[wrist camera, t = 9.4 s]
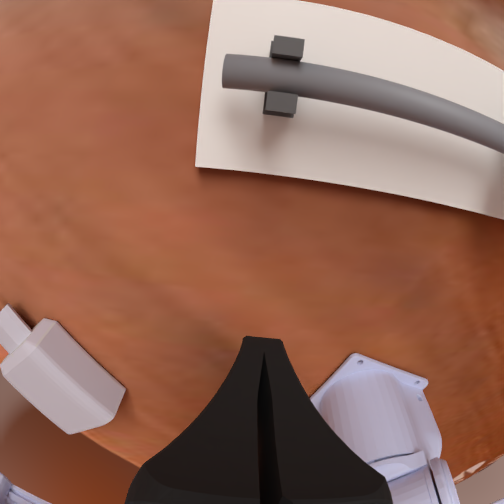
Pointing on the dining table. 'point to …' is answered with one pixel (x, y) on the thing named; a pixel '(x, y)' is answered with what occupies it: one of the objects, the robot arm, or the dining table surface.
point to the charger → (57, 374)
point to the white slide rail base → (350, 104)
